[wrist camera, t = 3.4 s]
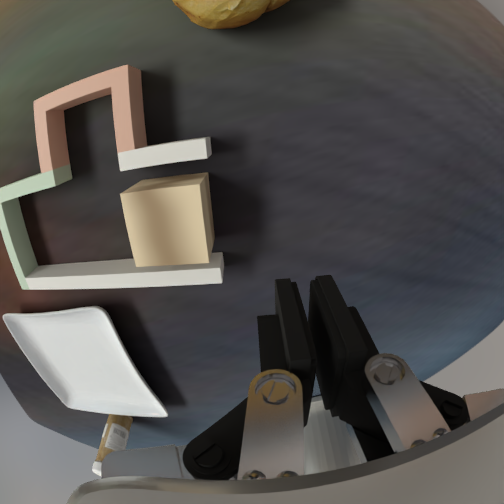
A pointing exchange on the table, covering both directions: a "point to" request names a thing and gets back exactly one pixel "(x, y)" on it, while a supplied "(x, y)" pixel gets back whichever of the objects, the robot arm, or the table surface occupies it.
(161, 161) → the pastel wall shelf
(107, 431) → the sprinkles bottle
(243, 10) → the bread roll
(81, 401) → the salad plate
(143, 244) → the block
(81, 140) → the table surface
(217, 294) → the table surface
